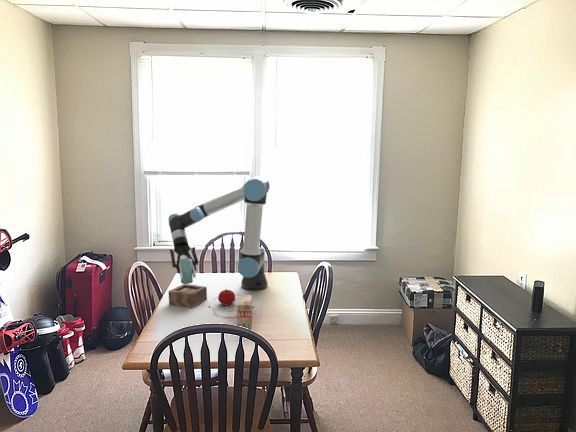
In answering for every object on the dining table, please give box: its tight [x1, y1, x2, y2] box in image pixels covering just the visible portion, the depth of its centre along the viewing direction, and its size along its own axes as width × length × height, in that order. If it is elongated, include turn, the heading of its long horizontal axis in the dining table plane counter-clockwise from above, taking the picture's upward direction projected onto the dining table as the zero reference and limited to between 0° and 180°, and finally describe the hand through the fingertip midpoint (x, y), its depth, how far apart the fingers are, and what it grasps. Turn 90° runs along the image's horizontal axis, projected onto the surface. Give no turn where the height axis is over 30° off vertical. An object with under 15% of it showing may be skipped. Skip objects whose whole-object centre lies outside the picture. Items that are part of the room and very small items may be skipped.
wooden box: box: [168, 283, 208, 309], centre depth 264 cm, size 14×14×7 cm
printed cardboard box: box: [236, 294, 253, 330], centre depth 239 cm, size 21×6×12 cm, turn 4°
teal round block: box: [179, 257, 194, 285], centre depth 262 cm, size 6×6×12 cm
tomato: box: [217, 288, 236, 306], centre depth 261 cm, size 9×9×8 cm
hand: (188, 277), depth 259 cm, fingers closed on teal round block, 6 cm apart
